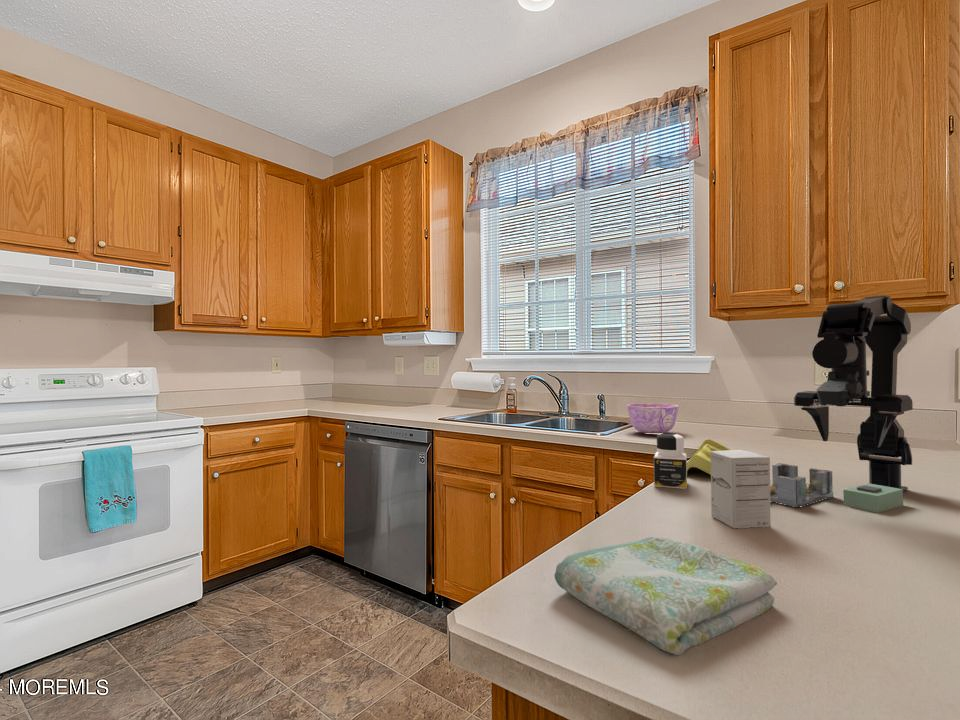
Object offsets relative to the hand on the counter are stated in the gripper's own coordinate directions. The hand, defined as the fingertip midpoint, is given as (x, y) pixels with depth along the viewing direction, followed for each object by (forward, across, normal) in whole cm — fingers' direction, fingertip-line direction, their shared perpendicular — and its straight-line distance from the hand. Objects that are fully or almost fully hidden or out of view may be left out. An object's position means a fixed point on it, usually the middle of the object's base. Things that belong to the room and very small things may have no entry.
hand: (850, 443), depth 103 cm
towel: (+11, +6, -64) cm, 66 cm away
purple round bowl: (+15, -92, +51) cm, 106 cm away
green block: (+13, +2, +4) cm, 14 cm away
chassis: (+12, -11, -3) cm, 17 cm away
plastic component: (+13, -36, +7) cm, 39 cm away
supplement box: (+12, -7, -28) cm, 31 cm away
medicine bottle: (+12, -32, -14) cm, 37 cm away
